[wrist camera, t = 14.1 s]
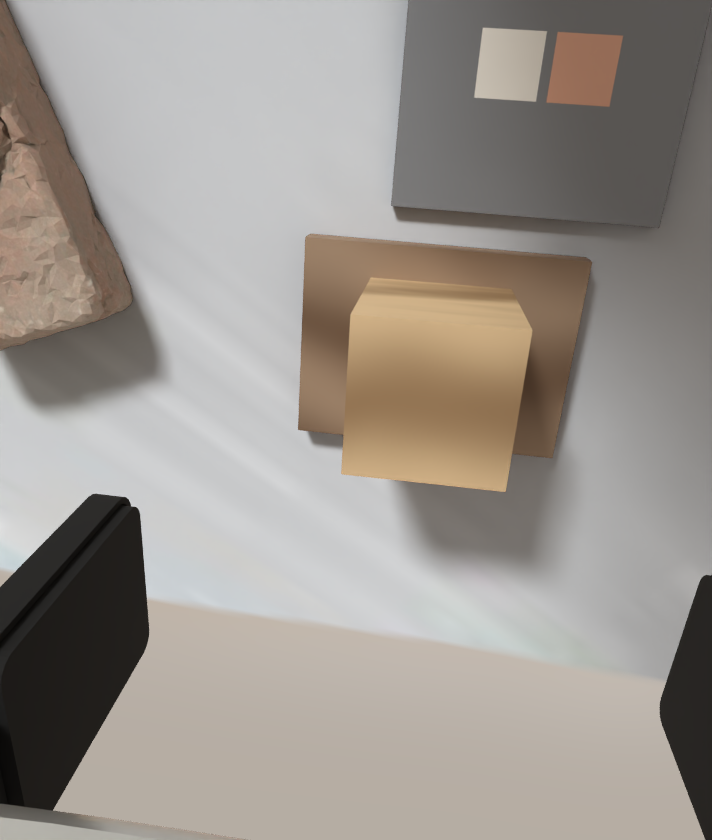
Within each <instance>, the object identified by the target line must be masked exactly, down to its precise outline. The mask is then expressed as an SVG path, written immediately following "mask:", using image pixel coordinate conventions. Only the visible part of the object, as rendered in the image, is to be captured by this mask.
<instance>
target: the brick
mask: <svg viewBox="0 0 712 840" xmlns="http://www.w3.org/2000/svg"><path fill="white" fill-rule="evenodd" d="M94 214H95V211H94V208H93V206H92V202H91V199H90V195H89V192H88V189H87V186H86V183H85V181H84V178H83V176H82V174H81V172H80V171H79V169H78V168H77V164H76V163H75V161H74V160H73V158H72V156H71V155H70V153H69V150H68V147H67V144H66V141H65V136H64V132H63V130H62V128H61V126H60V124H59V122H58V120H57V118H56V116H55V114H54V111H53V109H52V107H51V104H50V102H49V99H48V97H47V95H46V94H45V92H44V91H43V89H42V88H41V86H40V85H39V76H38V74H37V72H36V69H35V67H34V65H33V63H32V60H31V58H30V56H29V53H28V51H27V49H26V47H25V46H24V44H23V41H22V39H21V36H20V34H19V31H18V29H17V27H16V25H15V23H14V21H13V18H12V16H11V14H10V11H9V9H8V7H7V4H6V2H5V0H0V351H1V350H3V349H5V348H7V347H9V346H16V345H22V344H25V343H26V342H28V341H30V340H33V339H38V338H43V337H47V336H50V335H52V334H54V333H57V332H59V331H64V330H68V329H72V328H76V327H80V326H83V325H86V324H89V323H92V322H95V321H99V320H102V319H104V318H107V317H108V316H110V315H112V314H114V313H117V312H120V311H123V310H125V309H126V308H127V307H128V306H129V305H131V302H132V299H133V297H132V294H131V286H130V284H129V282H128V281H127V278H126V276H125V274H124V271H123V266H122V263H121V260H120V258H119V256H118V254H117V252H116V250H115V248H114V246H113V244H112V242H111V240H110V238H109V236H108V234H107V232H106V230H105V228H104V227H103V225H102V224H101V223H100V221H99V220H98V219H97V218H96V217H95V216H94Z"/></svg>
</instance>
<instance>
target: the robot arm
mask: <svg viewBox="0 0 712 840" xmlns="http://www.w3.org/2000/svg"><path fill="white" fill-rule="evenodd" d="M148 637H149V622H148V609H147V597H146V584H145V571H144V559H143V546H142V534H141V521H140V513H139V510H138V508H136V507H131V504H130V502H129V499H127V498H126V497H118V496H110V495H101V494H92V495H91V496H89V497H88V498H87V499H86V500H85V501H84V502H83V503H82V504H81V505H80V506H79V507H78V508H77V509H76V510H75V511H74V512H73V513H72V514H71V515H70V516H69V517H68V519H67V520H66V521H65V522H64V523H63V524H62V525H61V526H60V527H59V528H58V529H57V530H56V531H55V532H54V533H53V534H52V535H51V536H50V537H49V538H48V539H47V540H46V541H45V542H44V543H43V544H42V545H41V546H40V547H39V548H38V549H37V550H36V551H35V552H34V553H33V554H32V555H31V556H30V557H29V558H28V559H27V560H26V561H25V562H24V563H23V564H22V565H21V566H20V567H19V568H18V569H17V570H16V572H15V573H14V574H13V575H12V576H11V577H10V578H9V579H8V580H7V581H6V582H5V583H4V584H3V585H2V586H1V587H0V840H246V839H239V838H233V837H226V836H220V835H214V834H207V833H200V832H194V831H187V830H181V829H175V828H168V827H162V826H155V825H149V824H142V823H136V822H130V821H123V820H116V819H109V818H103V817H95V816H88V815H81V814H73V813H66V812H58V811H53V809H54V807H55V805H56V804H57V802H58V800H59V799H60V797H61V795H62V793H63V792H64V790H65V788H66V786H67V785H68V783H69V781H70V780H71V778H72V776H73V774H74V773H75V771H76V769H77V767H78V766H79V764H80V762H81V761H82V758H83V757H84V755H85V754H86V752H87V750H88V748H89V747H90V745H91V743H92V741H93V740H94V738H95V736H96V735H97V733H98V731H99V729H100V728H101V726H102V724H103V722H104V721H105V719H106V717H107V715H108V714H109V712H110V710H111V708H112V707H113V705H114V703H115V702H116V700H117V698H118V696H119V695H120V693H121V691H122V689H123V688H124V686H125V684H126V683H127V681H128V679H129V677H130V676H131V674H132V672H133V670H134V668H135V667H136V665H137V663H138V662H139V660H140V658H141V657H142V655H143V653H144V651H145V648H146V646H147V642H148ZM660 718H661V722H662V726H663V728H664V731H665V734H666V736H667V739H668V741H669V744H670V747H671V750H672V752H673V755H674V757H675V760H676V763H677V765H678V768H679V771H680V773H681V776H682V779H683V782H684V784H685V787H686V789H687V792H688V795H689V797H690V800H691V803H692V805H693V808H694V810H695V813H696V816H697V819H698V821H699V824H700V826H701V829H702V832H703V835H704V837H705V839H706V840H712V575H711V576H710V575H705V576H703V577H702V578H701V580H700V582H699V585H698V588H697V591H696V594H695V597H694V600H693V603H692V606H691V609H690V612H689V615H688V618H687V621H686V624H685V627H684V630H683V633H682V637H681V640H680V643H679V646H678V649H677V652H676V655H675V658H674V661H673V664H672V667H671V670H670V673H669V676H668V679H667V682H666V685H665V688H664V691H663V694H662V697H661V701H660Z"/></svg>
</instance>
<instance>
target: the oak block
mask: <svg viewBox="0 0 712 840" xmlns="http://www.w3.org/2000/svg"><path fill="white" fill-rule="evenodd" d="M532 331H533V330H532V328H531V326H530V324H529V322H528V320H527V318H526V316H525V314H524V312H523V311H522V309H521V307H520V305H519V303H518V301H517V299H516V297H515V295H514V293H513V291H512V289H505V288H492V287H480V286H468V285H456V284H444V283H431V282H419V281H407V280H395V279H383V278H370V280H369V282H368V284H367V286H366V287H365V289H364V291H363V293H362V295H361V296H360V298H359V300H358V302H357V304H356V305H355V307H354V309H353V311H352V312H351V314H350V331H349V349H348V366H347V383H346V401H345V418H344V436H343V453H342V471H341V474H344V475H354V476H363V477H372V478H381V479H390V480H400V481H409V482H418V483H427V484H436V485H446V486H455V487H464V488H473V489H482V490H492V491H501V492H506V487H507V481H508V475H509V469H510V463H511V457H512V451H513V445H514V439H515V433H516V427H517V421H518V415H519V409H520V403H521V397H522V391H523V385H524V379H525V373H526V367H527V361H528V355H529V349H530V343H531V337H532Z"/></svg>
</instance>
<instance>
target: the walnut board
mask: <svg viewBox="0 0 712 840" xmlns="http://www.w3.org/2000/svg"><path fill="white" fill-rule="evenodd" d="M591 265H592V261H590V260H589V259H588V258H586V257H574V256H563V255H551V254H539V253H528V252H516V251H505V250H493V249H481V248H470V247H458V246H446V245H435V244H423V243H412V242H400V241H388V240H377V239H365V238H354V237H342V236H330V235H319V234H309V235H308V236H306V237H305V263H304V289H303V315H302V342H301V368H300V394H299V421H298V430H304V431H313V432H322V433H331V434H340V435H344V418H345V401H346V383H347V366H348V349H349V331H350V314H351V312H352V311H353V309H354V307H355V305H356V304H357V302H358V300H359V298H360V296H361V295H362V293H363V291H364V289H365V287H366V286H367V284H368V282H369V280H370V278H383V279H395V280H407V281H419V282H431V283H444V284H456V285H468V286H480V287H492V288H505V289H512V291H513V293H514V295H515V297H516V299H517V301H518V303H519V305H520V307H521V309H522V311H523V312H524V314H525V316H526V318H527V320H528V322H529V324H530V326H531V328H532V330H533V331H532V337H531V343H530V349H529V355H528V361H527V367H526V373H525V379H524V385H523V391H522V397H521V403H520V409H519V415H518V421H517V427H516V433H515V439H514V445H513V451H512V454H519V455H528V456H537V457H546V458H552V457H553V452H554V447H555V442H556V438H557V433H558V428H559V423H560V418H561V413H562V408H563V403H564V398H565V393H566V388H567V383H568V378H569V374H570V369H571V364H572V359H573V354H574V349H575V344H576V339H577V334H578V329H579V324H580V319H581V315H582V310H583V305H584V300H585V295H586V290H587V285H588V280H589V275H590V270H591Z"/></svg>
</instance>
